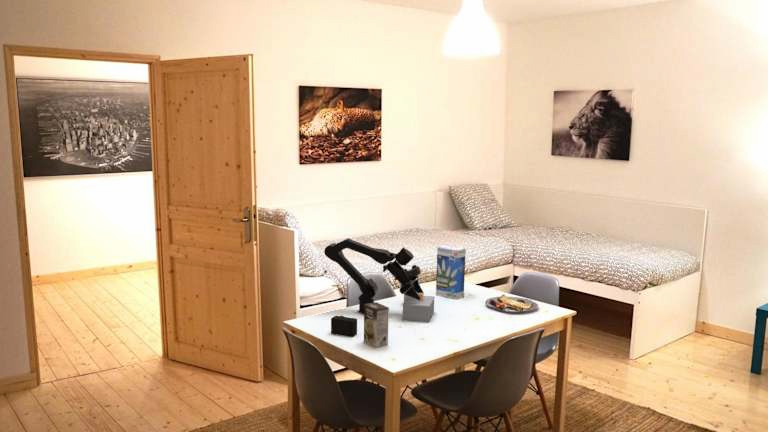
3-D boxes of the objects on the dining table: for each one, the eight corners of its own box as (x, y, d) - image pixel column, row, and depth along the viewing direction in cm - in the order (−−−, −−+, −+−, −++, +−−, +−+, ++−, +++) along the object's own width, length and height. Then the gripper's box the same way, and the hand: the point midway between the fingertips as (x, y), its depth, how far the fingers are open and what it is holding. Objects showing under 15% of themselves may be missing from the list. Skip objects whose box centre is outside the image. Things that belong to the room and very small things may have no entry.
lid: (402, 305, 293) (402, 297, 292) (408, 295, 309) (409, 288, 308) (429, 307, 290) (429, 299, 290) (434, 297, 306) (434, 289, 305)
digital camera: (358, 333, 276) (358, 317, 275) (353, 337, 271) (353, 321, 270) (336, 330, 280) (336, 314, 279) (331, 333, 275) (331, 318, 274)
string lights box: (435, 295, 337) (436, 246, 333) (443, 292, 343) (444, 244, 339) (456, 299, 328) (457, 250, 325) (464, 296, 334) (466, 247, 330)
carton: (402, 320, 294) (402, 305, 293) (409, 310, 310) (409, 296, 308) (428, 322, 291) (429, 307, 290) (433, 312, 307) (434, 298, 306)
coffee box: (363, 342, 265) (363, 303, 263) (375, 339, 269) (376, 301, 267) (375, 348, 258) (375, 309, 256) (388, 345, 262) (389, 306, 259)
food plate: (476, 305, 318) (476, 298, 318) (505, 297, 334) (505, 291, 333) (517, 318, 300) (518, 311, 300) (546, 309, 316) (547, 302, 315)
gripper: (406, 265, 288) (431, 290, 288) (414, 256, 306) (436, 280, 306) (389, 281, 291) (413, 306, 291) (397, 271, 309) (420, 295, 309)
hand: (421, 296), depth 299 cm, fingers open, 9 cm apart
